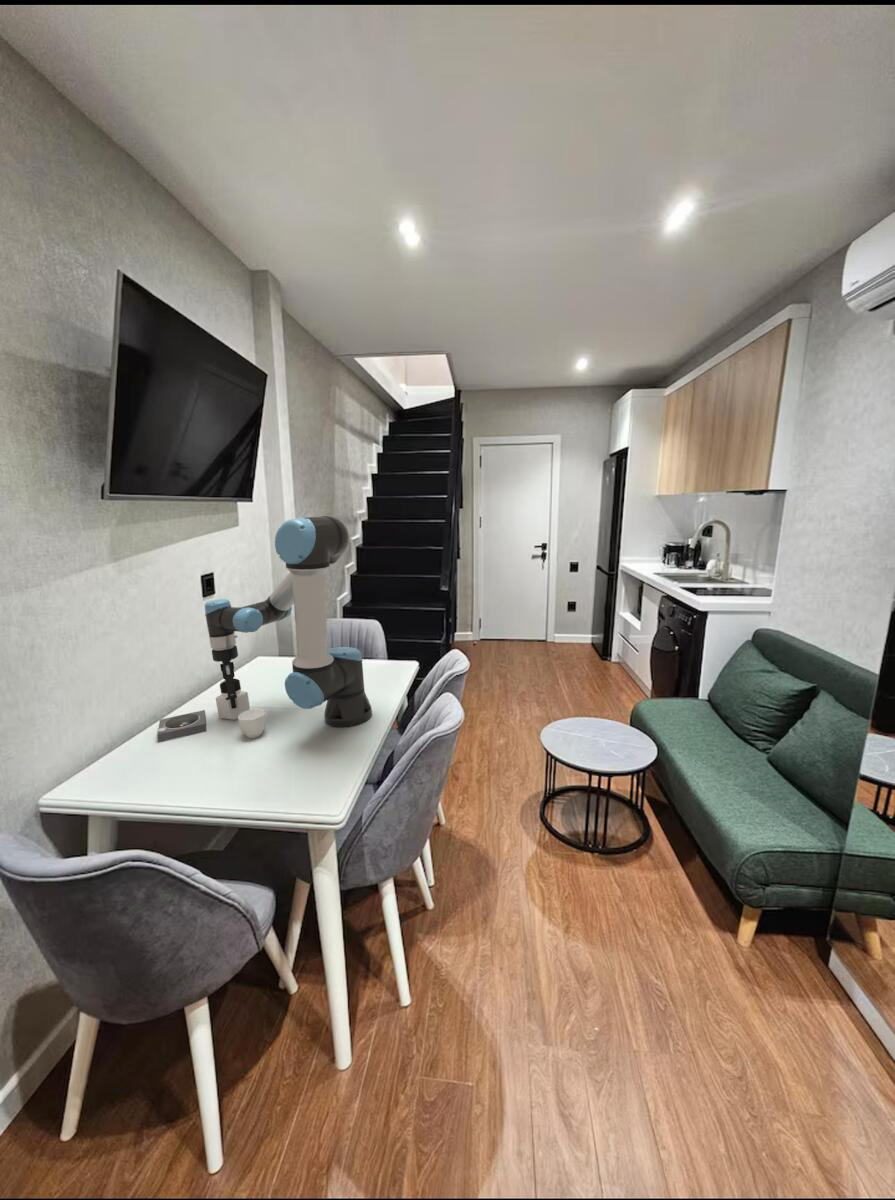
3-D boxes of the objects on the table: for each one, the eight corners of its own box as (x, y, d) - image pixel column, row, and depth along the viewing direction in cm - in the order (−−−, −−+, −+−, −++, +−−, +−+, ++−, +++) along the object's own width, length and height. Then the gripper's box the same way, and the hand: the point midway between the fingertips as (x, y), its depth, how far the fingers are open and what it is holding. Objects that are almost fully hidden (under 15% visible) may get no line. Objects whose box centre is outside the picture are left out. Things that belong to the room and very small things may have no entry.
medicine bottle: (251, 711, 160) (245, 677, 158) (233, 720, 154) (228, 685, 151) (235, 708, 163) (230, 675, 161) (218, 717, 157) (212, 683, 154)
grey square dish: (206, 731, 149) (204, 721, 148) (158, 742, 143) (156, 732, 142) (205, 716, 159) (204, 707, 159) (161, 726, 153) (159, 717, 153)
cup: (237, 742, 141) (234, 721, 139) (246, 727, 150) (244, 707, 149) (264, 739, 142) (261, 718, 140) (272, 724, 151) (269, 704, 150)
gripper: (239, 653, 146) (249, 720, 150) (234, 637, 165) (243, 697, 169) (212, 658, 142) (223, 726, 147) (210, 641, 162) (220, 702, 166)
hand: (234, 711), depth 158 cm, fingers closed on medicine bottle, 10 cm apart
